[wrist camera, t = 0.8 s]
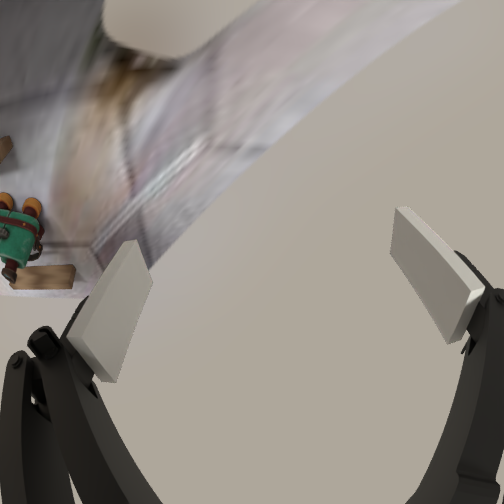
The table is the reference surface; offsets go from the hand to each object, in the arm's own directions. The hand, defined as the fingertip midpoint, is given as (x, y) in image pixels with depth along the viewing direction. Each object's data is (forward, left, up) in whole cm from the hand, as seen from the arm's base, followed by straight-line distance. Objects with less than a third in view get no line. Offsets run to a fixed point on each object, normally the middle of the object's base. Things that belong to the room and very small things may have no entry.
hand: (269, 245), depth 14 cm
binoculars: (-3, -30, -16) cm, 35 cm away
